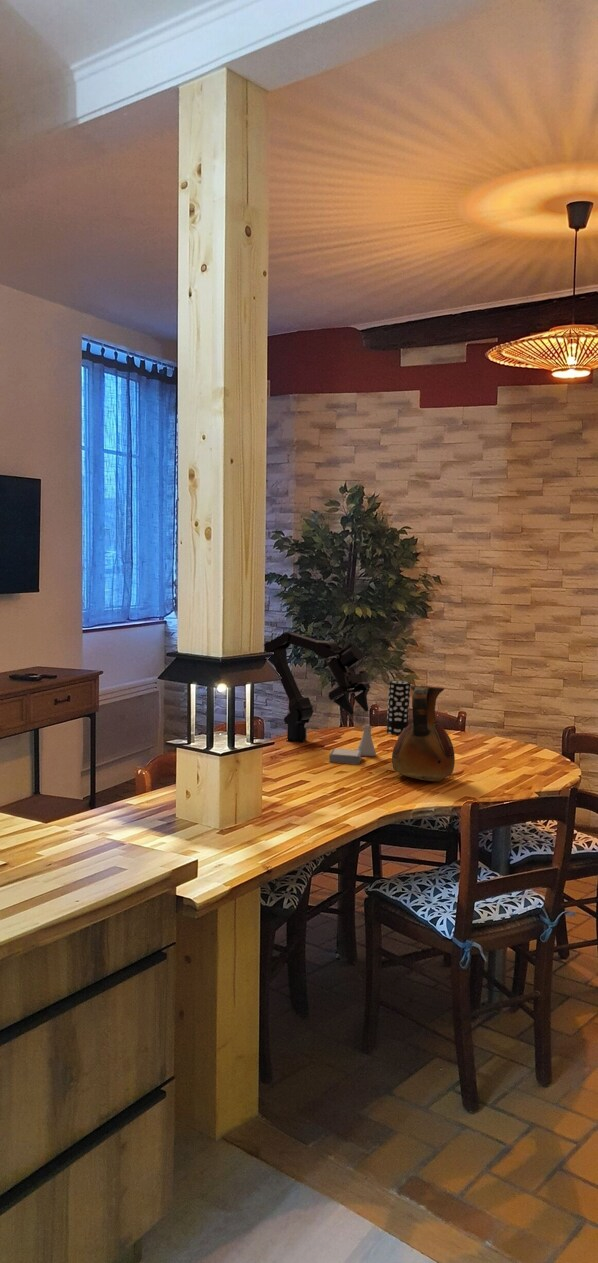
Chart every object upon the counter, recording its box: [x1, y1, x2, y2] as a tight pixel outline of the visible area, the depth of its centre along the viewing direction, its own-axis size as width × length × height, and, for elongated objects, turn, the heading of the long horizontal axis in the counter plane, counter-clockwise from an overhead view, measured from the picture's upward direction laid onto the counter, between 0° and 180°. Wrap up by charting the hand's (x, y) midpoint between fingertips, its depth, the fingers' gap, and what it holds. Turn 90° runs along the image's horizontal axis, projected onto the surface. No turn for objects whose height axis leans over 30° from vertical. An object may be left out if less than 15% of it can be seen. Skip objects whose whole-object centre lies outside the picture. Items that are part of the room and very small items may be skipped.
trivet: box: [329, 748, 363, 765], centre depth 314 cm, size 10×10×3 cm
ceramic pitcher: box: [391, 684, 456, 782], centre depth 291 cm, size 20×20×30 cm
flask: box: [356, 725, 377, 757], centre depth 323 cm, size 7×7×10 cm
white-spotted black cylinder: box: [385, 680, 412, 736], centre depth 363 cm, size 8×8×20 cm
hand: (360, 712), depth 324 cm, fingers open, 9 cm apart
